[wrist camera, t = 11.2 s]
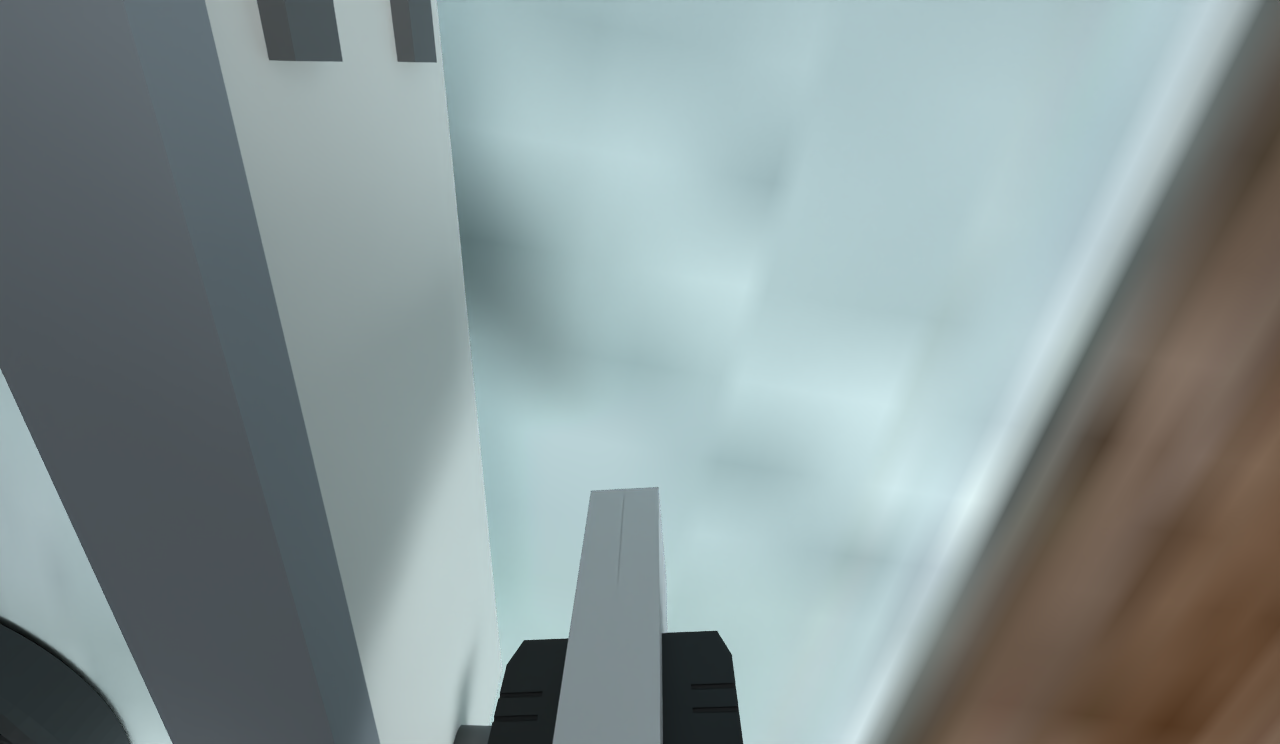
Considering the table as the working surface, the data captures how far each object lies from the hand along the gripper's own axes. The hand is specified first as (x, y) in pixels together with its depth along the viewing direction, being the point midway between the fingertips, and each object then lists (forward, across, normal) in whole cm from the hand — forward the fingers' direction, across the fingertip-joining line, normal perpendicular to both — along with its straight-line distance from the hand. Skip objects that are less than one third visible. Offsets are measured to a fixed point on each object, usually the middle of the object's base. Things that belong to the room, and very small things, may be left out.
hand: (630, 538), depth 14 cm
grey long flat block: (+3, -4, +4) cm, 6 cm away
